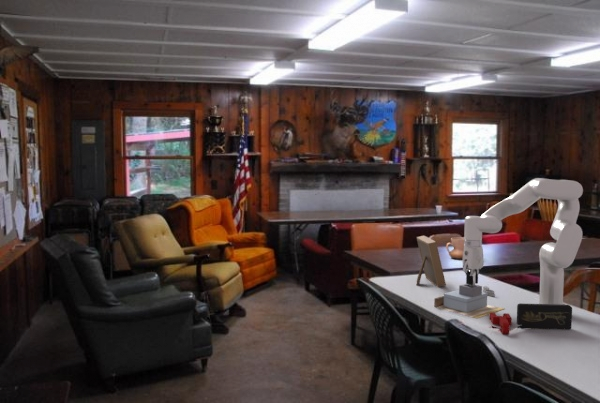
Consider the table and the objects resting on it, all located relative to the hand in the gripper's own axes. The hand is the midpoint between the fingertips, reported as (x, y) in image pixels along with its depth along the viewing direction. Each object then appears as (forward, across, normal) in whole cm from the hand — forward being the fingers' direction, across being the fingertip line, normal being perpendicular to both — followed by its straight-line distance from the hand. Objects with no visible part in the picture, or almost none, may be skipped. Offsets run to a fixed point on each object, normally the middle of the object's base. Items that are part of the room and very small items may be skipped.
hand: (472, 283), depth 236 cm
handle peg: (+4, 0, 0) cm, 4 cm away
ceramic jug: (+13, +103, +80) cm, 131 cm away
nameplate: (+13, +3, -32) cm, 35 cm away
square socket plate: (+11, 0, +3) cm, 12 cm away
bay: (+13, 0, +1) cm, 13 cm away
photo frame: (+13, +29, +48) cm, 58 cm away
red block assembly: (+14, -11, -22) cm, 28 cm away
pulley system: (+14, +26, +13) cm, 32 cm away
